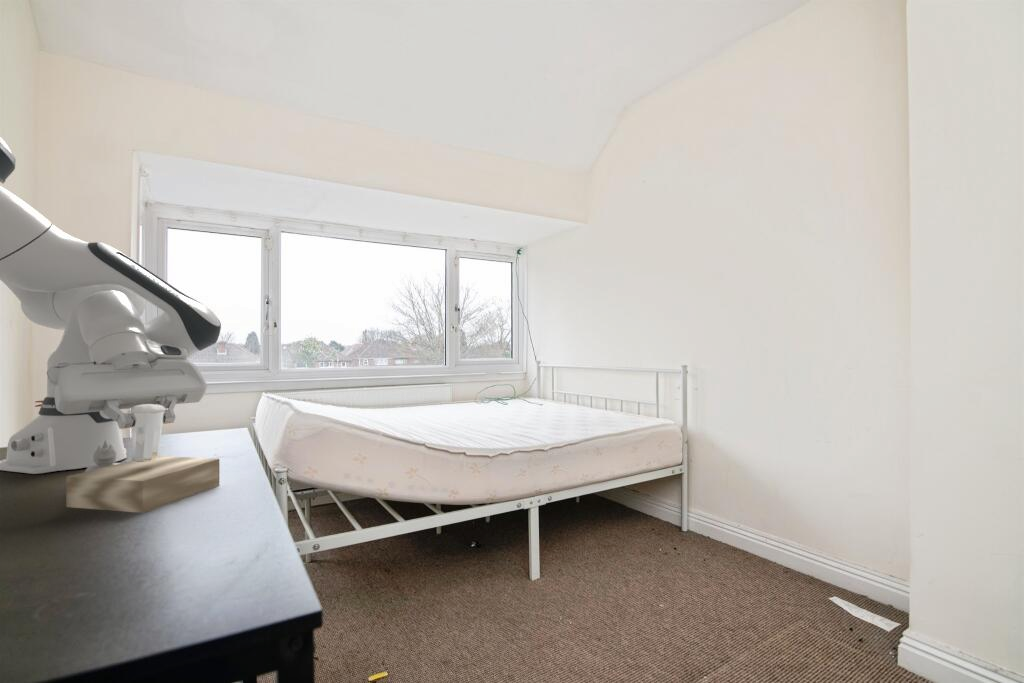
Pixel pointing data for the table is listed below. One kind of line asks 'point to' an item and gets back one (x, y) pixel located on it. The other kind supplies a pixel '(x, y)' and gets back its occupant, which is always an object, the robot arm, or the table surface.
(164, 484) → the block
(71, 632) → the table surface
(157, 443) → the milkshake
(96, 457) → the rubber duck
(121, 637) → the table surface
